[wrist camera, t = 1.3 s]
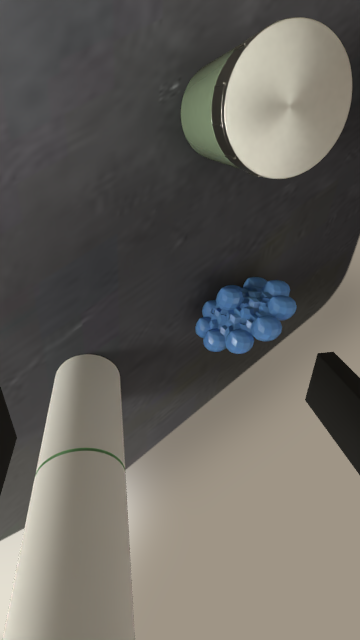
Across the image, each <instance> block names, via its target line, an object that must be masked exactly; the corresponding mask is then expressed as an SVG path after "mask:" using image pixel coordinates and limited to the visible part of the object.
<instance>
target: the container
mask: <svg viewBox="0 0 360 640" xmlns="http://www.w3.org/2000/svg"><path fill="white" fill-rule="evenodd" d="M127 511H128V510H127V494H126V475H125V458H124V440H123V422H122V404H121V387H120V374H119V371H118V369H117V367H116V366H115V365H114V364H113V363H112V362H111V361H110V360H108V359H106V358H104V357H101V356H98V355H92V354H85V355H78V356H75V357H72V358H70V359H68V360H67V361H65V362H64V363H63V364H62V365H61V366H60V367H59V369H58V370H57V372H56V376H55V381H54V386H53V391H52V396H51V401H50V405H49V410H48V415H47V420H46V425H45V430H44V435H43V440H42V445H41V450H40V455H39V460H38V465H37V470H36V475H35V480H34V485H33V490H32V495H31V499H30V504H29V509H28V514H27V519H26V524H25V529H24V534H23V539H22V544H21V550H20V554H19V559H18V564H17V569H16V574H15V579H14V584H13V588H12V594H11V599H10V604H9V609H8V613H7V619H6V623H5V629H4V633H3V638H2V640H135V633H134V615H133V598H132V582H131V581H132V580H131V563H130V547H129V546H130V545H129V529H128V512H127Z"/></svg>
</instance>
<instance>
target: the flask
mask: <svg viewBox="0 0 360 640" xmlns="http://www.w3.org/2000/svg"><path fill="white" fill-rule="evenodd" d="M238 46H239V45H238ZM238 46H237V47H238ZM237 47H235V48H237ZM235 48H234V49H235ZM234 49H232V50H230V51H229V52H227V53H225V54H224V55H222V56H220V57H219V58H217V59H216V60H214V61H212V62H211V63H209V64H207V65H206V66H204V67H203V68H201V69H200V70H199V71H198V72H197V73H196V74H195V75H194V76H193V78H192V79H191V80H190V82H189V84H188V86H187V88H186V90H185V92H184V96H183V99H182V104H181V122H182V127H183V131H184V134H185V136H186V138H187V140H188V142H189V144H190V145H191V146H192V148H193V149H194V150H195V151H196V152H197V153H199V154H200V155H202V156H203V157H205V158H208V159H210V160H213V161H217V162H220V163H223V164H226V165H229V166H232V167H236V168H238V167H237V166H235V165H234V164H233V163H232V162H230V161H229V159H228V158H226V157H225V155H224V153H223V152H222V150H221V149H220V147H219V145H218V143H217V140H216V137H215V134H214V130H213V126H212V116H211V107H212V97H213V92H214V85H216V82H217V78H218V76H219V74H220V72H221V69H222V67H223V66H224V64H225V62H226V61H227V59H228V58H229V57H230V55H231V54H232V53H233V50H234ZM239 169H240V168H239Z"/></svg>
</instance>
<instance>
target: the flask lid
mask: <svg viewBox="0 0 360 640" xmlns="http://www.w3.org/2000/svg"><path fill="white" fill-rule="evenodd" d="M351 98H352V73H351V66H350V63H349V59H348V56H347V53H346V51H345V48H344V47H343V45H342V43H341V41H340V40H339V39H338V37H337V36H336V35H335V33H334V32H332V31H331V30H330V29H329V28H328V27H327V26H325V25H324V24H322V23H320V22H318V21H315V20H313V19H309V18H304V17H293V18H288V19H283V20H281V21H277V22H275V23H273V24H272V25H270V26H268V27H266V28H265V29H263V30H261V31H260V32H258V33H257V34H255V35H253V36H252V37H250V38H248V39H247V40H246V41H244V42H243V43H242V44H240V45H239V46H238V47H237V48H235V49H234V50H233V53H232V54H231V55H230V57H229V58H228V59H227V61H226V62H225V64H224V66H223V67H222V69H221V72H220V74H219V76H218V78H217V82H216V85H214V92H213V97H212V107H211V116H212V126H213V130H214V134H215V137H216V140H217V143H218V145H219V147H220V149H221V150H222V152H223V153H224V155H225V157H226V158H228V159H229V161H230V162H232V163H233V164H234V165H235V166H237V167H238V168H240V169H242V170H244V171H247V172H248V173H249V174H252V175H255V176H258V177H260V176H262V177H265V178H270V179H286V178H290V177H294V176H297V175H299V174H302V173H303V172H305V171H307V170H309V169H310V168H312V167H313V166H315V165H316V164H317V163H318V162H319V161H320V160H322V159H323V157H324V156H325V155H326V154H327V153H328V152H329V151H330V149H331V148H332V147H333V145H334V144H335V142H336V141H337V139H338V137H339V136H340V133H341V131H342V129H343V127H344V125H345V122H346V119H347V116H348V113H349V109H350V104H351Z"/></svg>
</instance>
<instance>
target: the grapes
mask: <svg viewBox="0 0 360 640" xmlns="http://www.w3.org/2000/svg"><path fill="white" fill-rule="evenodd" d="M289 292H290V288H289V285H288V284H286V283H285V282H284V281H279V280H271V281H268V282H267V281H266V280H265V279H264V278H260V277H250V278H248V279H247V280H246V282H245V283H244V285H243V288H241V287H239V286H236V285H227V286H225V287H223V288H221V289H220V291H219V292H218V294H217V298H216V300H210V301H207V302H206V303H205V304H204V306H203V310H202V313H203V316H204V317H203V318H200V319H199V320H198V322H197V323H196V327H195V330H196V333H197V334H198V335H199V336H200V337H202V338H204V340H203V342H204V346H205V347H206V348H207V349H208V350H210V351H213V352H218V351H222V350H224V349H226V348H227V349H228V350H229V351H230V352H232V353H236V354H242V353H245V352H247V351H249V350H250V349H251V348H252V347H253V343H254V338H253V336H254V337H255V338H256V339H257V340H261V341H271V340H273V339H275V338H277V337H278V336H279V335H280V333H281V330H282V326H281V323H280V321H279V320H286V319H288V318H290V317H292V315H293V314H294V313H295V311H296V307H297V306H296V303H295V301H294V300H293V299H292V298H290V297H288V296H289Z"/></svg>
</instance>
